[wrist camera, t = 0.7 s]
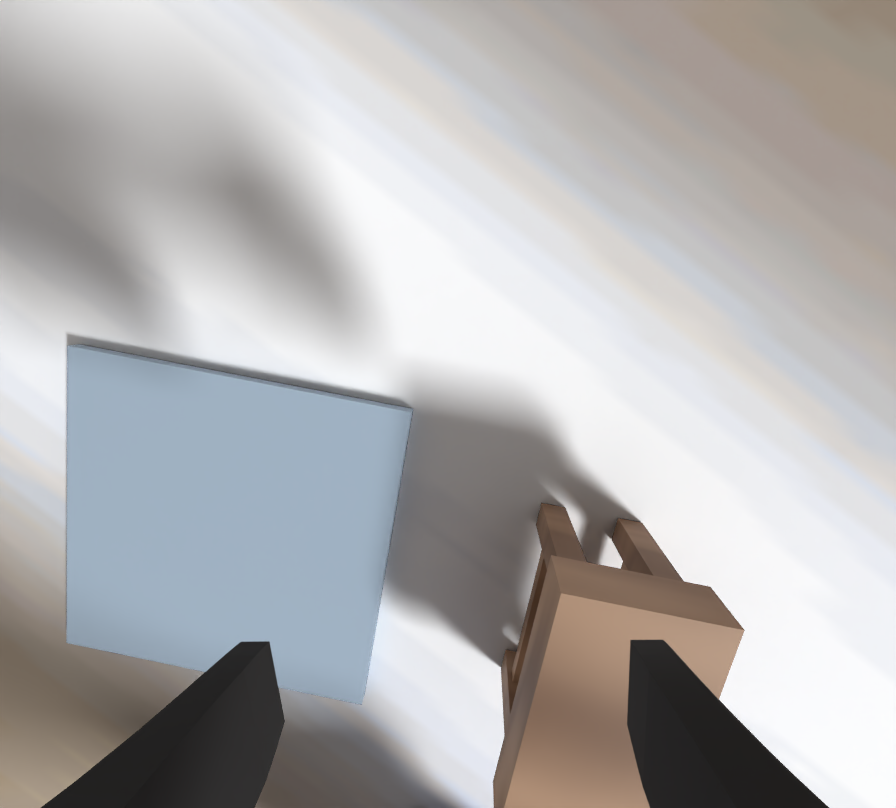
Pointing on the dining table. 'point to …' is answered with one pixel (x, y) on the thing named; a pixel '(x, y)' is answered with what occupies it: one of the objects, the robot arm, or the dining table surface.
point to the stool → (595, 666)
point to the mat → (227, 517)
